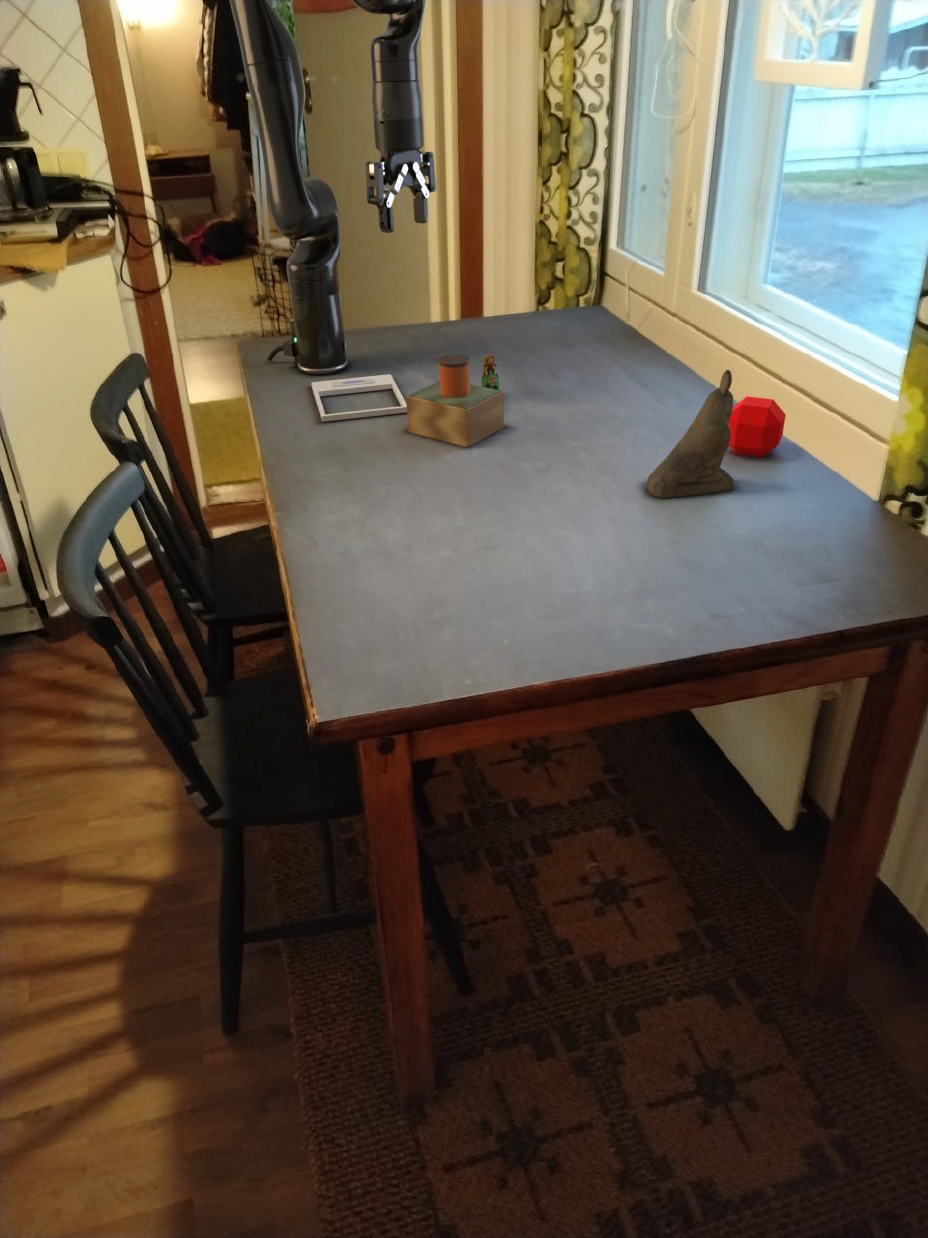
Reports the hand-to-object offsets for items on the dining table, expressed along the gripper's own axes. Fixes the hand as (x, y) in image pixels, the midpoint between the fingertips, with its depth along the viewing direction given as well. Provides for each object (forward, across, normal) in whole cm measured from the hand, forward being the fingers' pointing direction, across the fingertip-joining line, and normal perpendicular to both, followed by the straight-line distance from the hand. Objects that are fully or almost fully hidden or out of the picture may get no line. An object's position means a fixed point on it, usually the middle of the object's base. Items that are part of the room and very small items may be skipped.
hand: (404, 227), depth 155 cm
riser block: (+28, +9, +16) cm, 34 cm away
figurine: (+28, -5, +13) cm, 32 cm away
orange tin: (+22, +9, +16) cm, 29 cm away
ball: (+28, -8, +59) cm, 66 cm away
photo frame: (+28, +7, -7) cm, 30 cm away
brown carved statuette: (+28, +9, +57) cm, 64 cm away
